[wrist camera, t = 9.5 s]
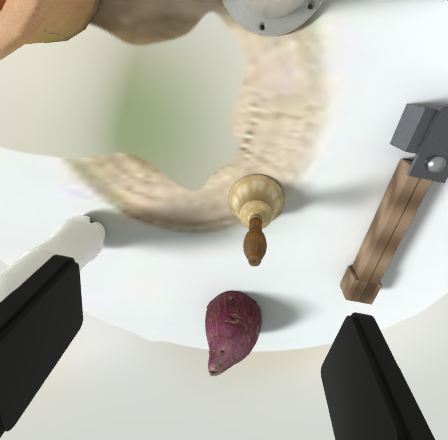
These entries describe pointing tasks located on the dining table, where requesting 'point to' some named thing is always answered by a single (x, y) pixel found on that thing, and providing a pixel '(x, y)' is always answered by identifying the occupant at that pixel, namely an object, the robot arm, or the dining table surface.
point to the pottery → (42, 21)
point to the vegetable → (231, 329)
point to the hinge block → (424, 141)
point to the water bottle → (56, 251)
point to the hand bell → (255, 211)
